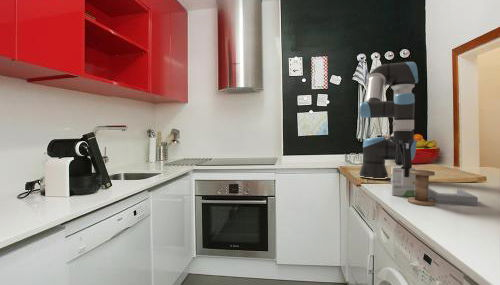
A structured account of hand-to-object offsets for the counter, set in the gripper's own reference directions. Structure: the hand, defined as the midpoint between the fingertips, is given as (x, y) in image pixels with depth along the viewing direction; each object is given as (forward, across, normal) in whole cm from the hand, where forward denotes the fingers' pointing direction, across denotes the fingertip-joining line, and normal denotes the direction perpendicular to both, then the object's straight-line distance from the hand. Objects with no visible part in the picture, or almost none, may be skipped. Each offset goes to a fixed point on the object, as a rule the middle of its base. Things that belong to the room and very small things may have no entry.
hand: (402, 182), depth 118 cm
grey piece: (+5, +4, +16) cm, 17 cm away
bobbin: (+5, +12, +4) cm, 14 cm away
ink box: (+6, 0, 0) cm, 6 cm away
